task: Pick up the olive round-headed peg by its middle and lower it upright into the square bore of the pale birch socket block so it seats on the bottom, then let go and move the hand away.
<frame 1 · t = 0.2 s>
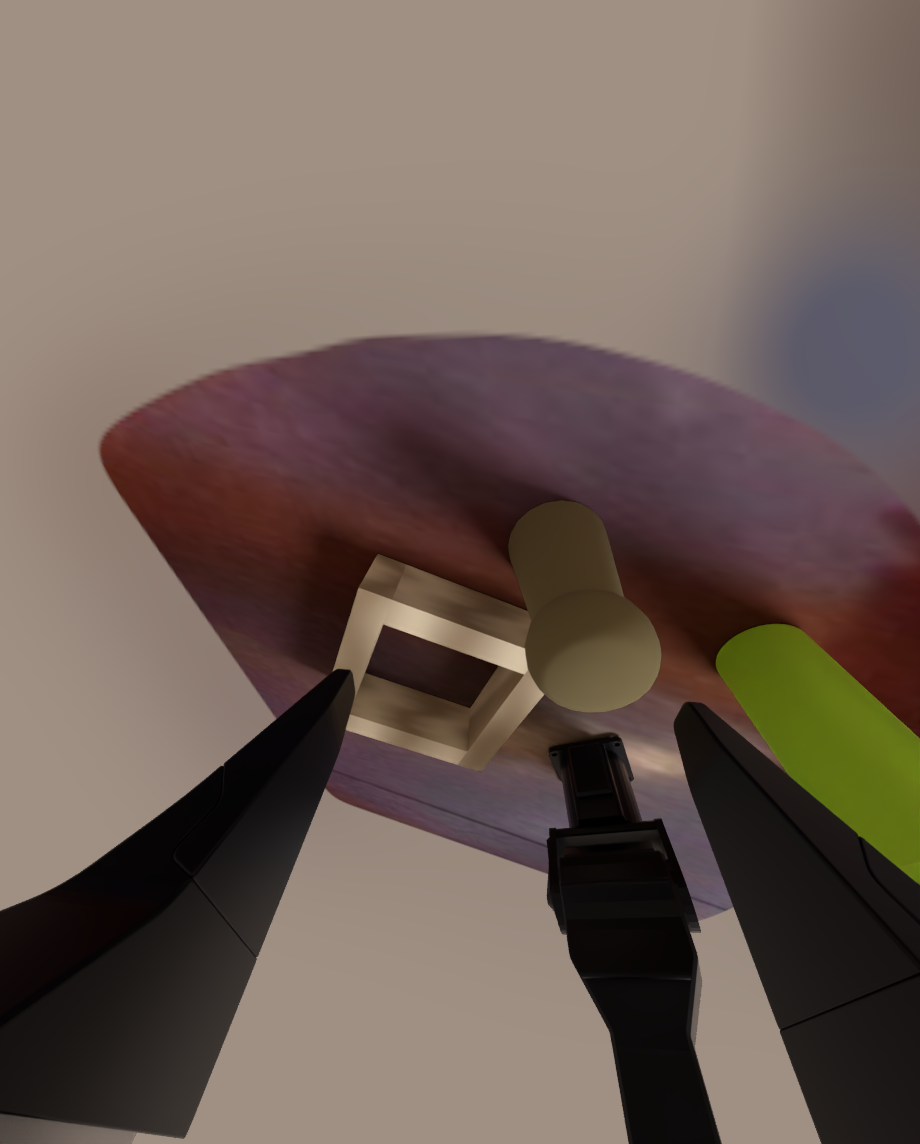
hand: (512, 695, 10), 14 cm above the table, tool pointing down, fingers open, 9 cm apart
olive round-headed peg: (556, 544, 23), on the table
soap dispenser: (757, 658, 26), on the table
socket block: (437, 654, 28), on the table
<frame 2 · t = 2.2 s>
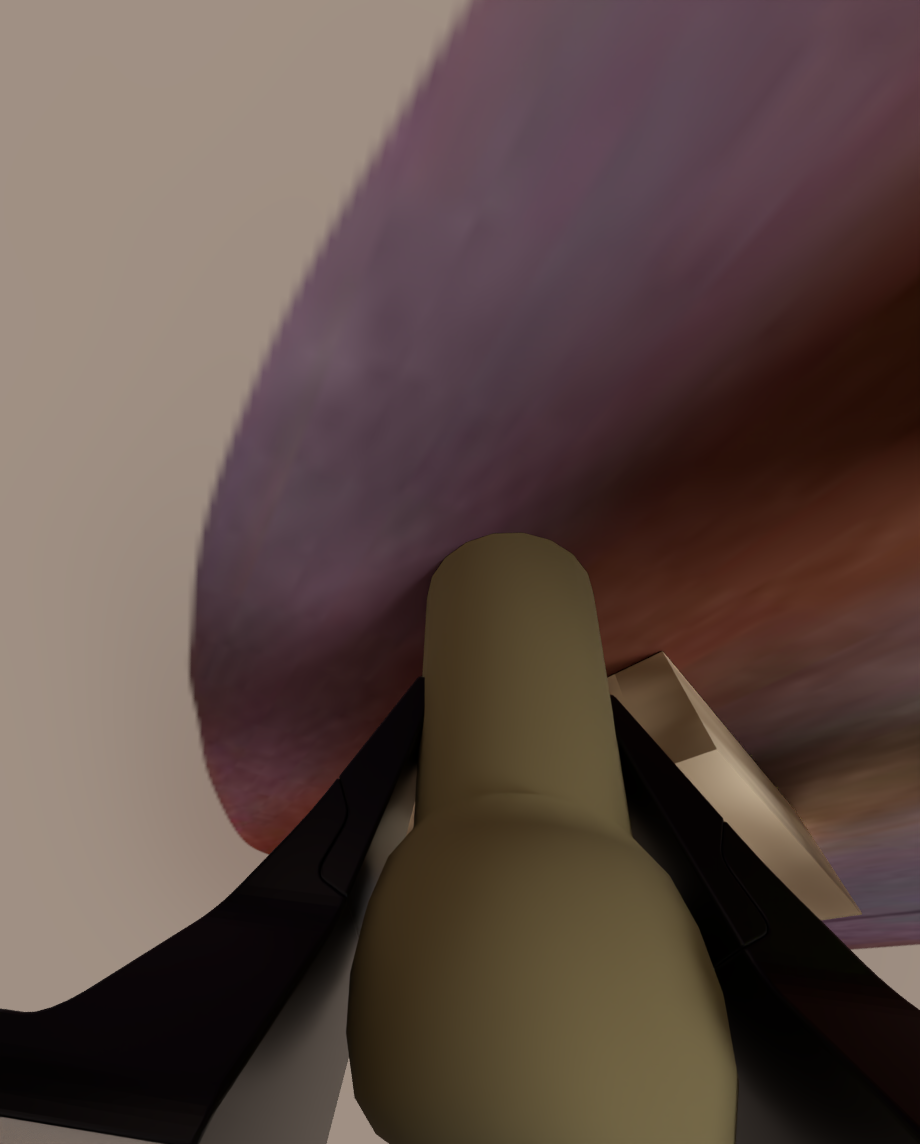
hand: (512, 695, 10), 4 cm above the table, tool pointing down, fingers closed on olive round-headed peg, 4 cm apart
olive round-headed peg: (508, 603, 14), on the table, touching gripper
socket block: (601, 788, 19), on the table
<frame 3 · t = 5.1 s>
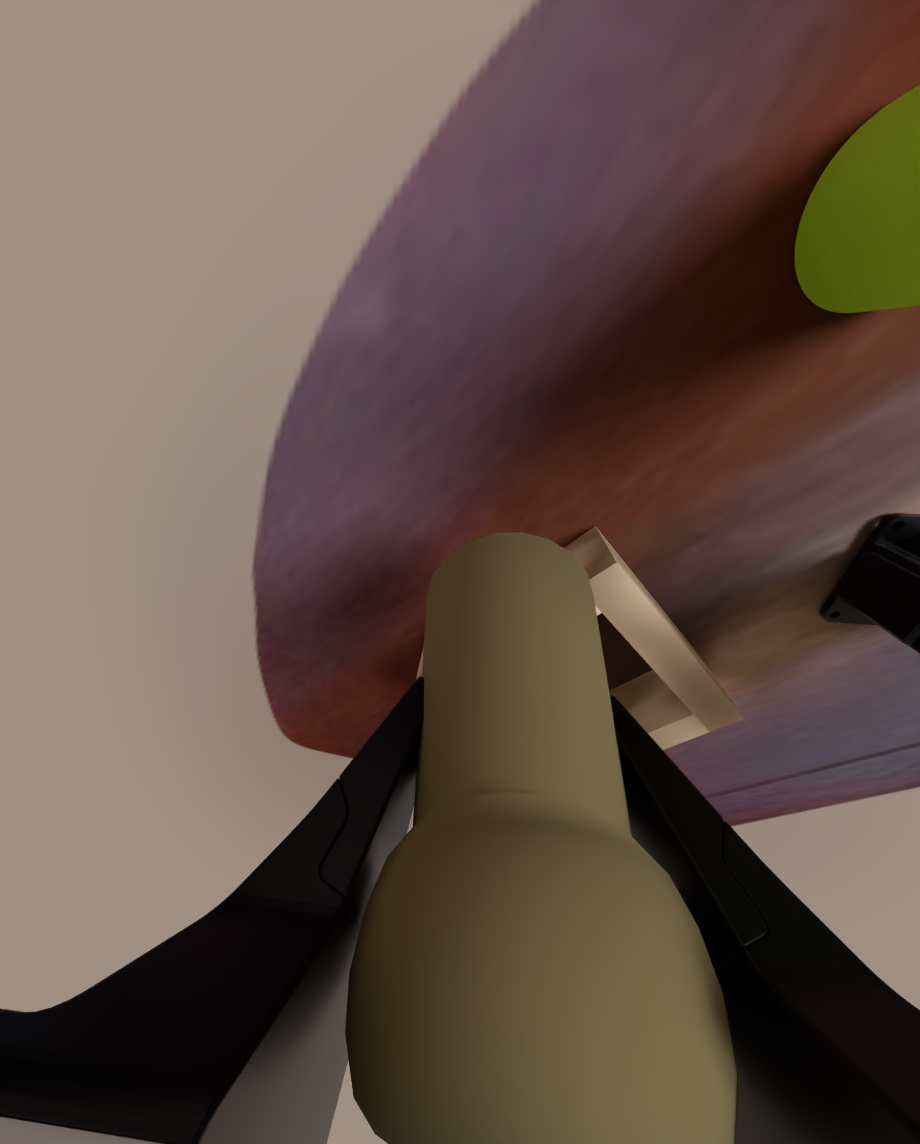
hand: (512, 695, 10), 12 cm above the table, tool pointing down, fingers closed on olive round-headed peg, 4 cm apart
olive round-headed peg: (507, 603, 14), point 8 cm above the table, touching gripper
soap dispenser: (898, 216, 13), on the table
socket block: (563, 655, 25), on the table
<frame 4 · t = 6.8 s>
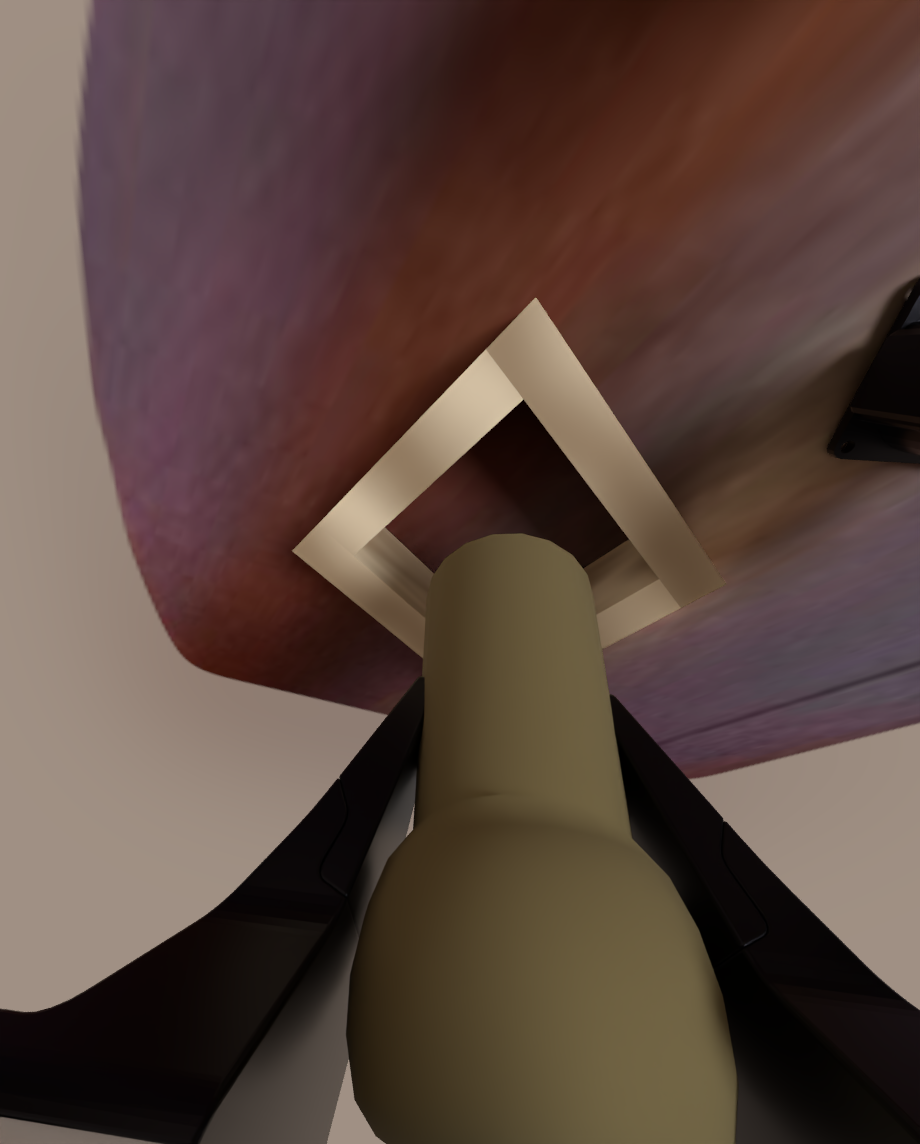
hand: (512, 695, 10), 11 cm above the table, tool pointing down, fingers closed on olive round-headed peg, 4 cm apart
olive round-headed peg: (507, 604, 14), point 7 cm above the table, touching gripper
socket block: (501, 529, 19), on the table
when the fingers open (5 cm above the table, at t = 8.3 s): olive round-headed peg drops 1 cm, resting in socket block.
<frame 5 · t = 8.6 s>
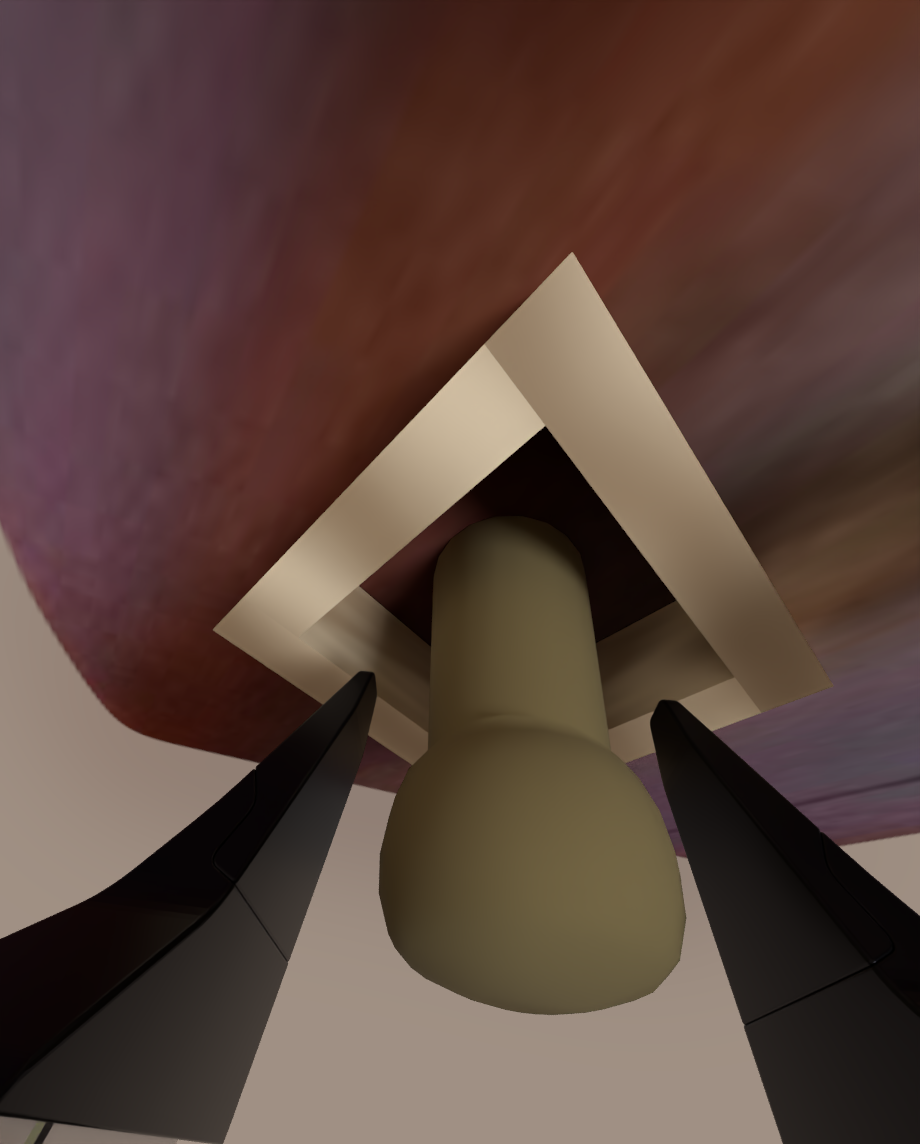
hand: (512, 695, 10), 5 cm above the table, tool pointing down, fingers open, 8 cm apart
olive round-headed peg: (507, 582, 15), resting in socket block
socket block: (506, 586, 15), on the table
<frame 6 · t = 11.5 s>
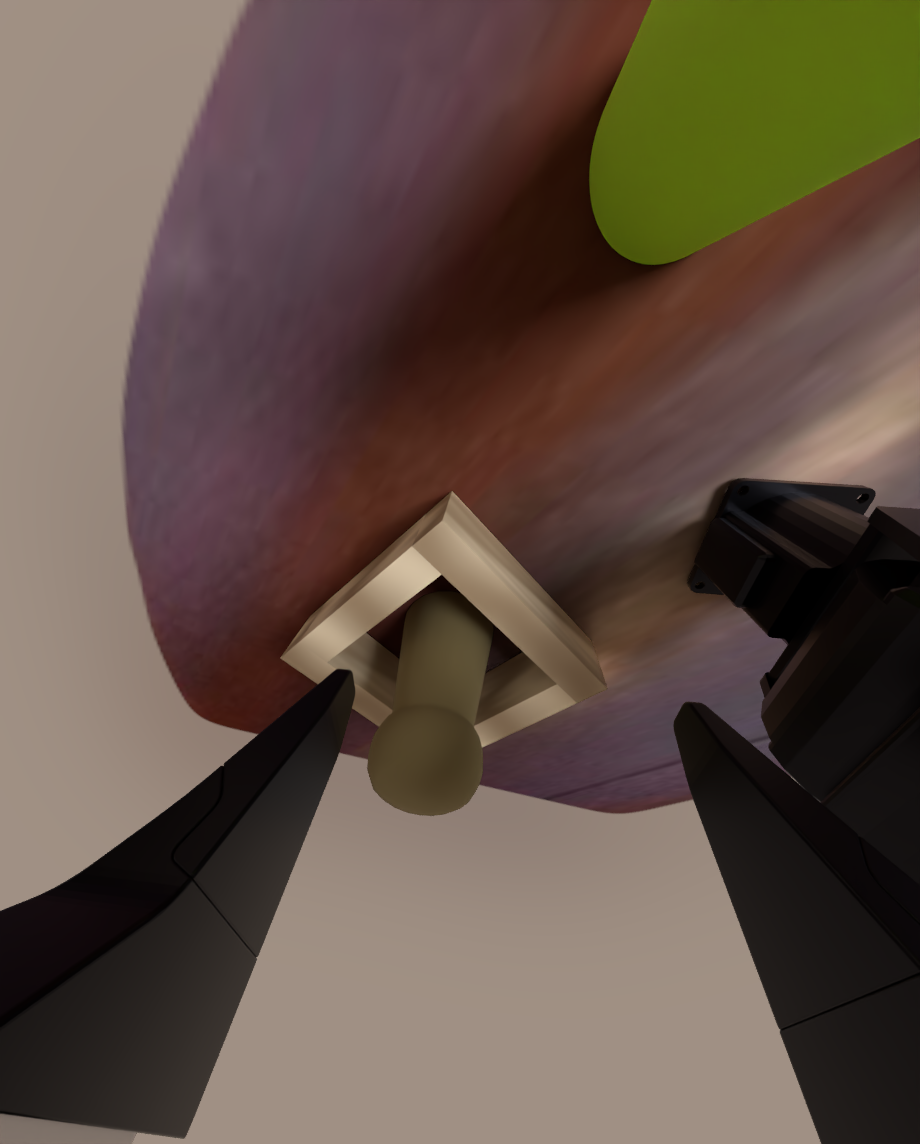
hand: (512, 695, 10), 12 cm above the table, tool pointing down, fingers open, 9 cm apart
olive round-headed peg: (449, 626, 25), resting in socket block
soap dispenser: (688, 162, 13), on the table
socket block: (447, 628, 25), on the table
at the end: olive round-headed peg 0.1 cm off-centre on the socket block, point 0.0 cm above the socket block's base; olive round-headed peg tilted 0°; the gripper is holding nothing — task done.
